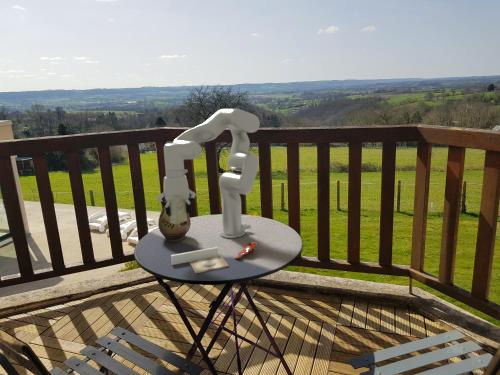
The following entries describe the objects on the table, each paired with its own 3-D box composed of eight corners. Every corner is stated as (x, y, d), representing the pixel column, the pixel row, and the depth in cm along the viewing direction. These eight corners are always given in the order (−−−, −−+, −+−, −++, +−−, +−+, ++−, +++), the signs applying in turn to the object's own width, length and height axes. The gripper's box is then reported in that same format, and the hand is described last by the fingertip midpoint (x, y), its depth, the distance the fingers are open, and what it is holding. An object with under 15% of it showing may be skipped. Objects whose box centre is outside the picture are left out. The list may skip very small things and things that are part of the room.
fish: (253, 237, 166) (263, 243, 159) (253, 247, 167) (263, 254, 160) (228, 243, 160) (237, 250, 152) (228, 253, 161) (237, 261, 154)
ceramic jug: (183, 245, 171) (178, 183, 163) (153, 242, 175) (148, 182, 167) (197, 233, 186) (194, 175, 179) (170, 230, 191) (166, 174, 183)
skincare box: (177, 224, 151) (175, 196, 148) (169, 222, 154) (167, 195, 150) (187, 220, 156) (185, 192, 153) (180, 218, 159) (177, 191, 156)
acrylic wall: (217, 255, 159) (216, 246, 158) (217, 256, 159) (217, 247, 158) (171, 264, 152) (170, 255, 151) (171, 265, 151) (171, 256, 150)
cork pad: (221, 257, 158) (221, 255, 157) (228, 266, 149) (228, 265, 148) (189, 263, 152) (189, 261, 152) (195, 273, 143) (195, 271, 143)
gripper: (193, 169, 156) (196, 209, 161) (152, 173, 150) (155, 214, 154) (198, 172, 150) (200, 213, 154) (154, 177, 143) (158, 219, 148)
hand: (178, 213), depth 154 cm, fingers closed on skincare box, 7 cm apart
